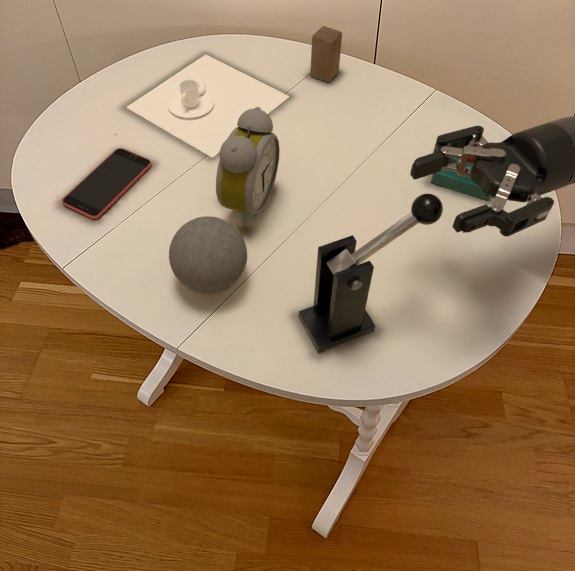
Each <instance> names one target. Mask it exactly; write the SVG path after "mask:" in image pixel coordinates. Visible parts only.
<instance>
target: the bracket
mask: <svg viewBox="0 0 575 571" xmlns="http://www.w3.org/2000/svg"><path fill="white" fill-rule="evenodd" d="M356 248H357V239H356V237H355V236H354V235H349V236H346V237H343V238H340V239H338V240H335V241H331V242H329V243H326V244H323V245H320V246H318V247H317V256H316V271H315V282H314V293H313V294H314V295H313V305H311V306H309V307H306V308H304V309H301V310H298V318H299V320H300V322H301V323H302V326H303V327H304V329H305V331H306V332H307V335H308V336H309V338H310V340H311V342H312V343H313V346H314V347H315V349H316V351H317V353H322V352H324V351H327V350H330V349H332V348H334V347H337V346H340V345H342V344H345V343H348V342H350V341H352V340H355V339H357V338H360V337H363V336H365V335H368V334H370V333H372V332H375V330H376V324H375V323H374V321H373V319H372V317H371V316H370V315H369V313H368V311H367V309H366V307H367V302H368V298H369V293H370V288H371V283H372V278H373V274H374V270H375V266H374V265H373V263H372V261H371V260H367V261H363V262H361V263H360V264H359V265H356V266H353V267H350V268H348V269H345V270H342V271H339V272H336V273H334V275H333V273H332V272H331V270H330V268H329V267H328V265H327V262H328V261H329V260H331V259H332V258H334V257H335V256H337V255H338V254H339V253H341V252H342V251H344V250H345V249H347V250H348V251H349V252H350V253H351V254H352V253H354V252H355V251H356V250H357V249H356Z"/></svg>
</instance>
